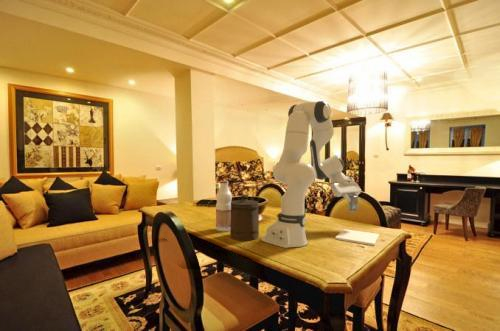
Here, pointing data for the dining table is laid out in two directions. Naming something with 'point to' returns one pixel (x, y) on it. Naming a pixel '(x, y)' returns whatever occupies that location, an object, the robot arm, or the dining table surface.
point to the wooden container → (244, 219)
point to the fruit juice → (223, 207)
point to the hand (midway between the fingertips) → (354, 200)
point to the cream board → (358, 237)
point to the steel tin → (353, 203)
